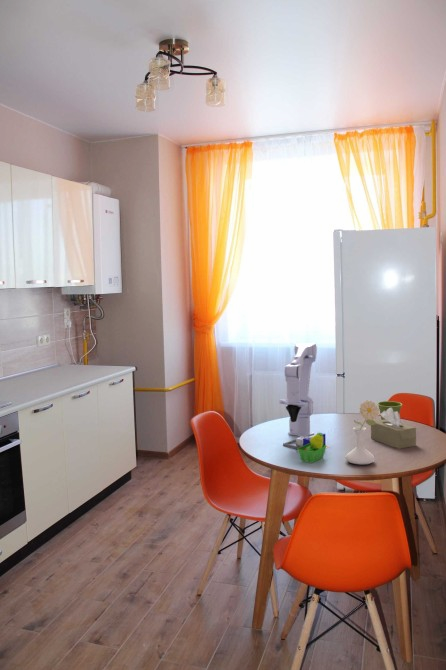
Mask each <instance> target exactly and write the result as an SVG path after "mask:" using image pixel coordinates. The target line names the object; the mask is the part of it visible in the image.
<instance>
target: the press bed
mask: <svg viewBox="0 0 446 670" xmlns="http://www.w3.org/2000/svg"><path fill="white" fill-rule="evenodd" d="M294 443H295V444H296V438H295V439H292V440H289V441H287V442H286V441H285V442H284V443H282V446H283V447H287V448H290V449H295V450H297V451H296V452H297V453H299V451H298V448H300V447H298V446H296V445H294ZM328 448H331V446H329V445H326V448H325V450H326V449H328Z"/></svg>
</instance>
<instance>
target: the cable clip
mask: <svg viewBox="0 0 446 670" xmlns="http://www.w3.org/2000/svg"><path fill="white" fill-rule="evenodd" d="M320 433H321V434H322V435H323V445H326V438H327V437H326V433H323V432H320ZM309 443H310V439H308V438H303V446H304V445H307V444H309ZM326 446H327V445H326Z"/></svg>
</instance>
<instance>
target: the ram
mask: <svg viewBox="0 0 446 670" xmlns="http://www.w3.org/2000/svg"><path fill="white" fill-rule="evenodd" d="M312 437H313V436H310V435H309V436H302V437H301V436H298V437H297V438H295V439H296V442H295V446H298V447H302V446H303V438H308V439H311V438H312Z"/></svg>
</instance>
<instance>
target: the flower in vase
mask: <svg viewBox="0 0 446 670" xmlns="http://www.w3.org/2000/svg"><path fill="white" fill-rule="evenodd" d="M359 414H360V416H362V419H364V422H362V423H361V422H358V421H356V420H354V419H353V421H354V423H355V424H359V425H361V426H355V427H353V428H352V429H353V430H354V432H355V435H356V446H355V448H353V449H352V450H350V451H349V452H348V453H347V454H346V455H345V457H344V459H345V460H346V461H347V462H348V463H350V464H353V465H369V464H371V463H373V462H374V461H375V460H376V458H375V456H374V455H373V453H372V452H370V451H369V450H368V449H366V448H365V446H364V441H363V439H364V433H365V431H366V430H367V428H366V427H365V426H364V425H365V424H367V425H368V426H371V425H374V424H376V422H375V421H376V420H374V419H376V418H378V417H379V415H380V409H379V407H378V405H376V403H375V402H374V401H372V400H365V401H363V402H361V403H360V405H359Z"/></svg>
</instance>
